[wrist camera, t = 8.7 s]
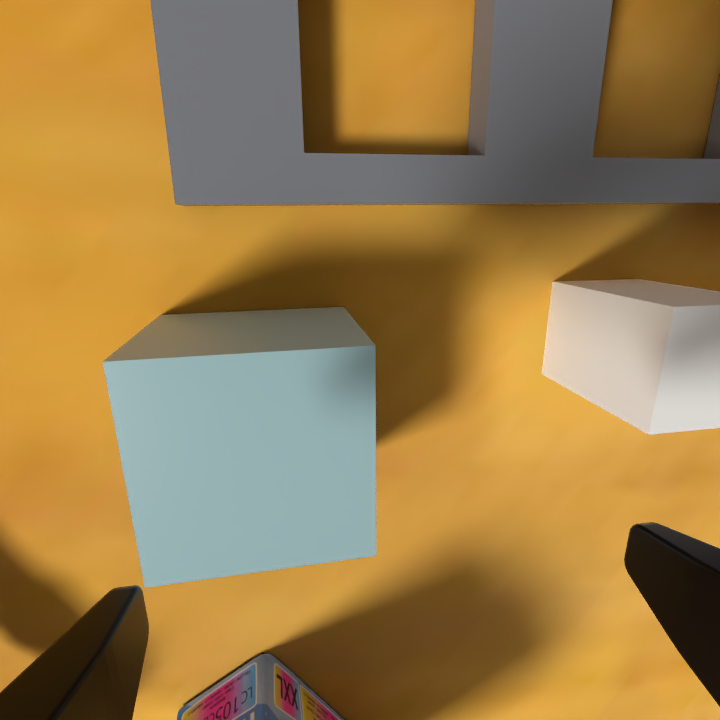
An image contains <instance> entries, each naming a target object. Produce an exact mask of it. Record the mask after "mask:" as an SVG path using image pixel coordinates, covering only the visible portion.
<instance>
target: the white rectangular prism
mask: <svg viewBox="0 0 720 720" xmlns="http://www.w3.org/2000/svg"><path fill="white" fill-rule="evenodd" d="M542 375H544V376H546V377H548V378H549V379H551V380H553V381H555V382H557V383H558V384H560V385H562V386H564V387H565V388H567V389H569V390H571V391H572V392H574V393H576V394H578V395H580V396H581V397H583V398H585V399H587V400H588V401H590V402H592V403H594V404H595V405H597V406H599V407H601V408H603V409H604V410H606V411H608V412H610V413H611V414H613V415H615V416H617V417H618V418H620V419H622V420H624V421H626V422H627V423H629V424H631V425H633V426H634V427H636V428H638V429H640V430H641V431H643V432H645V433H647V434H649V435H650V434H660V433H671V432H681V431H692V430H702V429H712V428H720V291H714V290H708V289H701V288H695V287H688V286H682V285H675V284H669V283H662V282H656V281H649V280H643V279H619V280H586V281H553V282H552V291H551V299H550V308H549V317H548V325H547V334H546V342H545V351H544V359H543V368H542Z"/></svg>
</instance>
